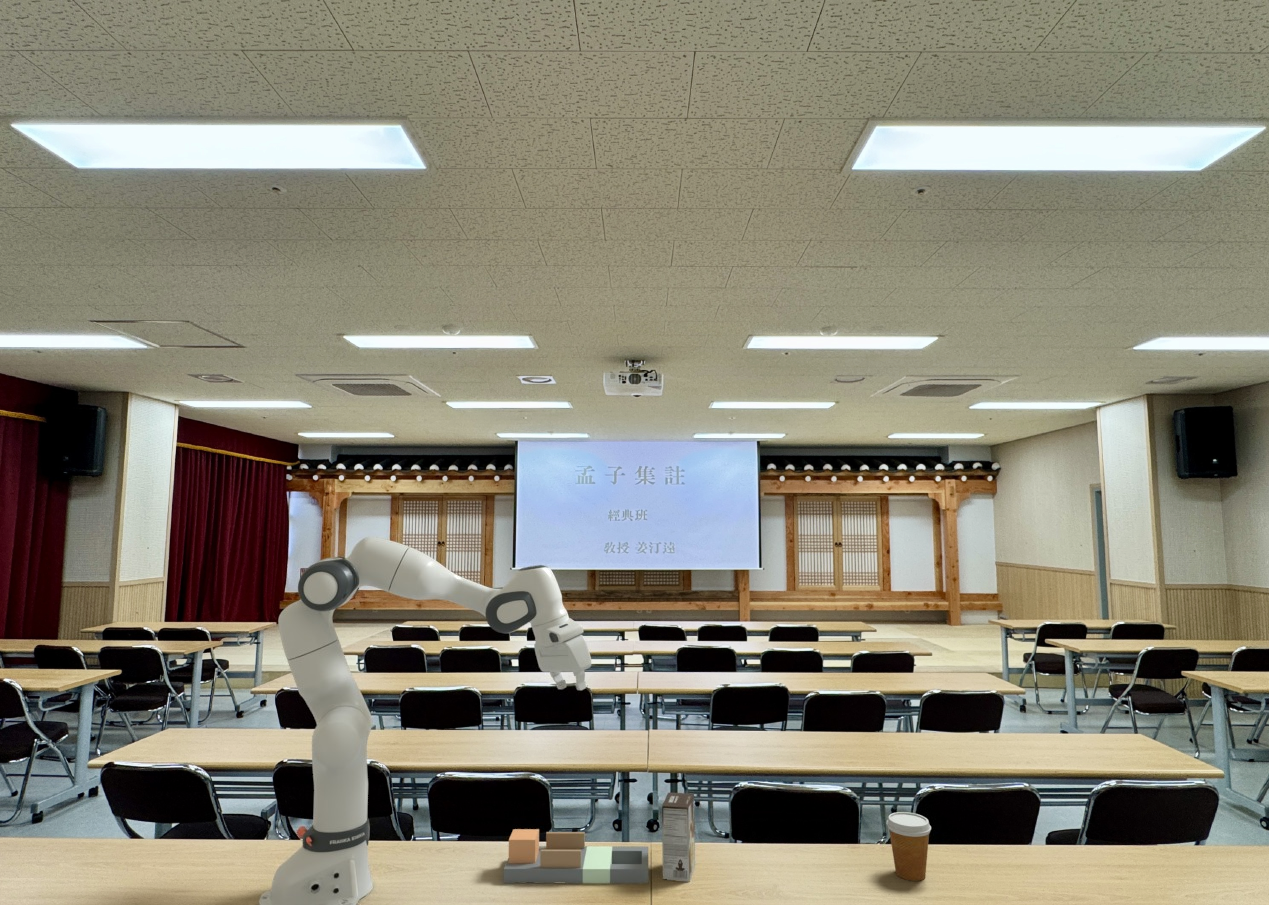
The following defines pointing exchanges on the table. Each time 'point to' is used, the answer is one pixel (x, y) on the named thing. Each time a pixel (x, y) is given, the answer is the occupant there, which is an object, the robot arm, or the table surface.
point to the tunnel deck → (581, 862)
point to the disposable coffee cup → (909, 844)
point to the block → (524, 846)
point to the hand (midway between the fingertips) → (572, 688)
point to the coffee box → (678, 836)
